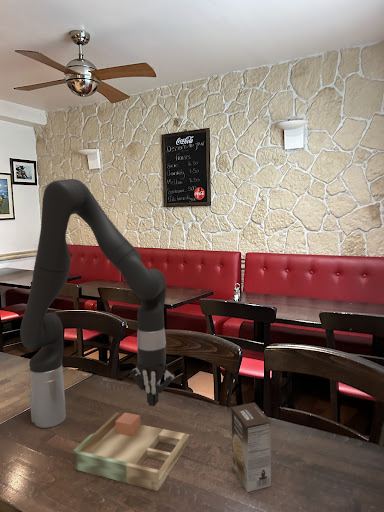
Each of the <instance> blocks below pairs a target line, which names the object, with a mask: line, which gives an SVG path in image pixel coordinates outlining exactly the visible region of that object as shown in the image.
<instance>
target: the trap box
mask: <svg viewBox="0 0 384 512" xmlns="http://www.w3.org/2000/svg"><path fill="white" fill-rule="evenodd" d="M120 417H121V412H119V411H118V412H117V411H116V412H115V413H114V414H113V415H112V416H110V418H109V419H107V421H106V422H104V424H103V425H101V426H100V427H99V428H98V429H97V430H96V431H95V432H93V433H90V435H88V436H87V437H86V438H85V439H84V440H83V441H82V442H81V443H79V444H78V445H77V446H76V447H75V448H74V449H73V465H74V466H73V467H74V470H76V471H80V472H84V473H87V474H92V475H93V476H99V477H103V478H107V479H111V480H114V481H118V482H122V483H125V484H130V485H134V486H137V487H141V488H144V489H148V490H152V491H155V492H158V491H159V490H160V488H161V487H162V485H163V484H164V482H165V481H166V479H167V478H168V477H169V474H170V473H171V471H172V470H173V468H174V466H175V464H176V463H177V461H179V459H180V457H181V455H182V454H183V453H184V451H185V450H186V448H187V446H188V445H189V443H190V441H191V439H190V438H191V437H190V436H191V435H190V434H189V433H184V432H180V431H174V430H170V429H164V428H159V427H153V426H150V425H145V424H141V427H140V428H139V429H138V430H137V431H136V432H135V434H134V435H133V436H132V437H131V436H127V435H122V434H117V433H116V423H115V421H116V420H117V419H119V418H120ZM159 443H163V444H168V445H173V446H175V447H174V448H173V450H172V451H171V452H169V451H165V450H160V449H155V448H156V447H157V444H159ZM147 458H149V459H152V460H157V461H161V462H164V463H163V464H162V466H161V467H160V468H159V469H157V468H156V469H155V468H153V467H152V468H151V467H148V466H143V463H144V462H145V461H146V459H147Z"/></svg>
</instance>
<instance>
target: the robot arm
mask: <svg viewBox="0 0 384 512" xmlns="http://www.w3.org/2000/svg"><path fill="white" fill-rule="evenodd" d="M41 206H42V207H41V219H40V221H41V222H40V223H41V224H40V233H39V239H38V245H37V250H36V257H35V262H34V267H33V272H32V279H31V284H30V285H31V286H30V290H29V291H30V292H29V295H28V299H27V300H28V301H27V303H26V306H25V310H24V313H23V316H22V320H21V324H20V329H19V335H20V341H21V343H22V345H23V346H24V348H26V349H28V350H35V349H39V350H38V351H37V353H36V354H34V355H33V356H32V357H31V358H30V360H29V363H28V364H29V375H30V386H31V391H30V392H29V404H30V405H29V406H30V407H29V408H30V418H31V423H33V424H34V426H36V427H38V428H42V429H45V428H46V429H47V428H51V427H56V426H58V425H60V424H62V423H63V422H64V421H65V420H66V418H67V412H66V399H65V398H66V397H65V384H64V383H65V382H64V372H63V371H64V370H63V358H64V330H63V323H62V321H61V319H60V316H59V315H57V314H56V313H54V312H48V310H49V308H50V306H51V305H52V303H53V302H54V300H55V299H56V298H57V297H58V296H59V295H60V293H61V292H62V291H63V288H64V287H65V285H66V284H67V281H68V277H69V272H70V268H71V262H72V260H71V259H72V258H71V253H70V250H69V246H68V243H67V230H68V224H69V222H70V221H69V220H70V218H71V216H73V215H75V214H76V215H77V216H78V217H79V218H81V219H82V221H84V222H85V223H86V224H87V225H88V227H89V229H91V231H92V233H93V235H94V237H95V238H94V239H95V240H96V242H97V245H98V248H99V249H100V251H101V252H102V254H103V255H104V257H106V259H107V260H108V261H109V262H110V263H111V264H112V265H113V266H114V267H115V268H116V269H117V270H118V272H120V274H121V275H122V278H123V279H124V281H125V282H126V284H127V286H128V287H129V289H130V290H131V291H132V293H133V294H135V295H136V296H137V297H138V298H139V299H140V301H141V302H140V306H139V308H138V310H137V315H136V316H137V334H136V335H137V336H136V343H137V365H136V367H135V368H133V369H131V371H130V372H129V374H130V376H131V377H132V379H133V380H134V382H135V383H136V384H137V386H138V387H139V389H140V390H141V391H145V393H146V403H147V404H148V406H149V407H155V406H157V404H158V403H159V402H160V401H159V399H160V398H159V394H162V392H163V391H164V390H165V389H166V388H167V387H168V386H169V384H170V383H171V382H172V381H173V380H174V379H175V377H176V375H175V373H171V372H170V371H168V366H167V363H166V362H167V361H166V360H167V357H166V356H167V351H166V350H167V349H166V343H167V340H166V332H165V330H166V329H165V313H164V311H165V310H164V309H165V304H166V303H165V302H166V293H167V281H166V277H165V275H164V273H163V272H162V271H161V270H159V269H157V268H149V269H148V268H147V267H146V266H145V264H144V263H143V262H142V256H141V253H140V252H139V251H138V250H137V249H136V248H135V247H134V245H132V243H130V241H129V240H128V239H127V238H125V236H124V235H123V234H122V233H121V232H120V230H119V229H118V228H117V226H116V225H115V224H114V223H113V222H112V221H111V219H110V218H109V216H108V214H107V213H106V212H105V211H104V209H103V208H102V206H101V205H100V204H99V202H98V201H97V199H96V197H95V196H94V194H93V193H92V192H91V191H90V189H89V188H88V187H87V185H86V184H85V183H84V182H82V181H81V180H79V179H77V178H75V179H74V178H67V179H58V180H57V179H56V180H54V181H51V182H49V183H48V184H47V185H46V187H45V189H44V192H43V196H42V205H41ZM47 312H48V313H47ZM163 377H164V382H163V383H162V384H161V385H160V383H161V379H163Z"/></svg>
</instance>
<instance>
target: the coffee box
mask: <svg viewBox="0 0 384 512" xmlns="http://www.w3.org/2000/svg"><path fill="white" fill-rule="evenodd" d="M231 447H232V448H231V449H232V450H231V451H232V455H231V458H232V459H231V460H232V461H231V463H232V468H233V470H234V472H235V474H236V476H237V477H238V479H239V480H240V483H241V485H242V486H243V488H244V490H245V491H246V492H247V493H250V492H254V491H257V490H261V489H265V488H269V487H271V486H272V468H271V467H272V421H271V420H270V419H269V417H268V416H267V415H266V414H265V413H264V412H263V410H262V409H261V408H260V407H259V405H258V404H256V402H250V403H249V402H248V403H244V404H240V405H236V406H232V407H231Z"/></svg>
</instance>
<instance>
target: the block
mask: <svg viewBox="0 0 384 512" xmlns="http://www.w3.org/2000/svg"><path fill="white" fill-rule="evenodd" d="M115 423H116V433H117V434H122V435H127V436H131V437H132V436H133V435H134V434H135V432H136V431H137V430H138V429H139V428H140V427H141V425H142V424H141V415H140V414H135V413H131V412H130V413H129V412H124V413H123V414H121V415H120V418H119V419H117V420H116V421H115Z"/></svg>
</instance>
